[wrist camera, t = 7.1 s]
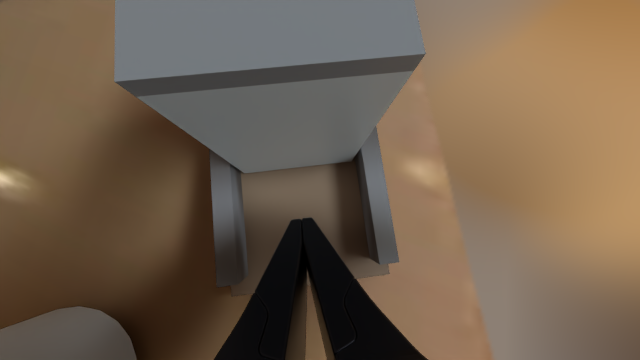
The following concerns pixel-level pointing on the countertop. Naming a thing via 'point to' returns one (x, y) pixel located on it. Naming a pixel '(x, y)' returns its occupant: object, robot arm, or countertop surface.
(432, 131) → the countertop surface
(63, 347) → the can
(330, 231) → the grey rail holder
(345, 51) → the grey rectangular box
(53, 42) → the countertop surface
